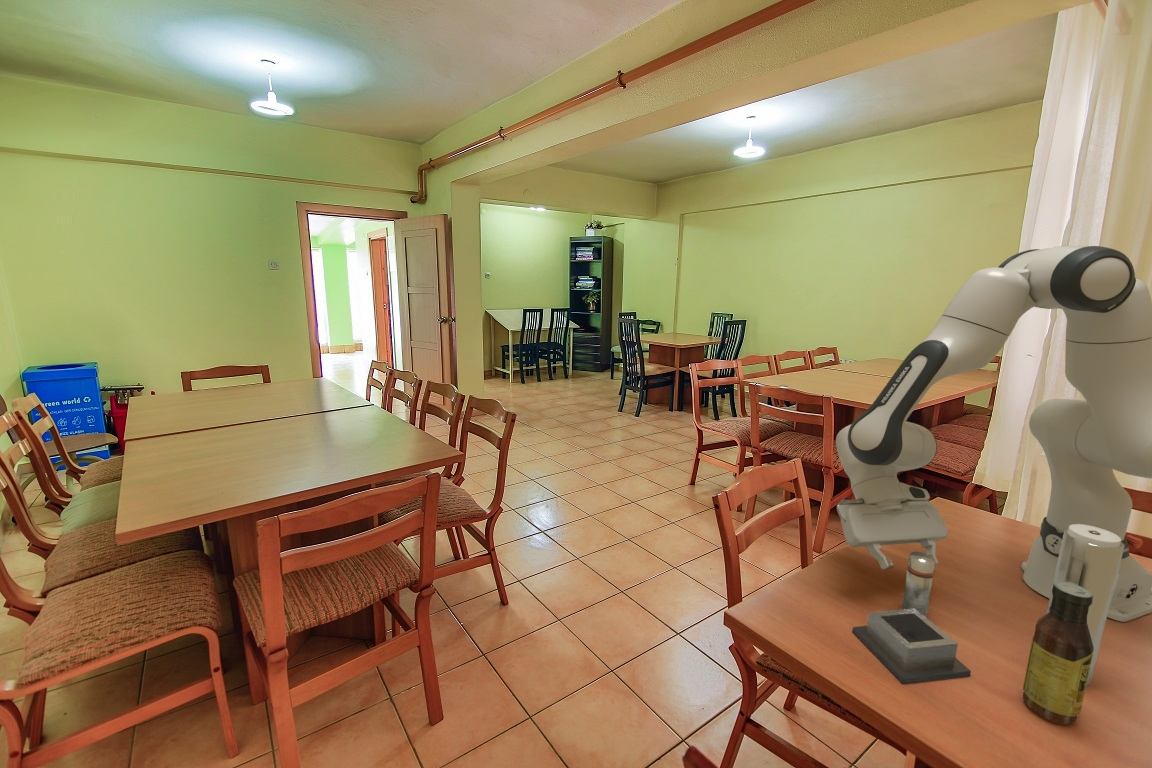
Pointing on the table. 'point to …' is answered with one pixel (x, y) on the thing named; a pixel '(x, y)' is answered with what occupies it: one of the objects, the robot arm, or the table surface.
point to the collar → (911, 646)
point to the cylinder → (918, 582)
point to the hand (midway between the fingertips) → (910, 566)
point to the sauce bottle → (1060, 656)
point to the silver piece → (1090, 573)
